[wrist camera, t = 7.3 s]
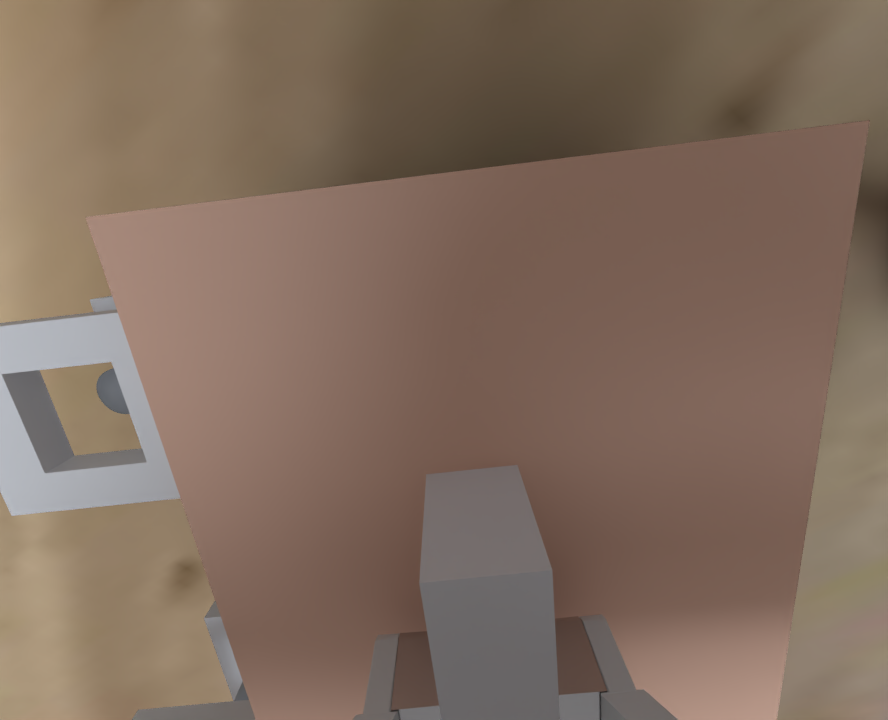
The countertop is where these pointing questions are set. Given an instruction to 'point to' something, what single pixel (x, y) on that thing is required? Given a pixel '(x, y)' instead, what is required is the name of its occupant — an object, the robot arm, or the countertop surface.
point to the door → (475, 416)
